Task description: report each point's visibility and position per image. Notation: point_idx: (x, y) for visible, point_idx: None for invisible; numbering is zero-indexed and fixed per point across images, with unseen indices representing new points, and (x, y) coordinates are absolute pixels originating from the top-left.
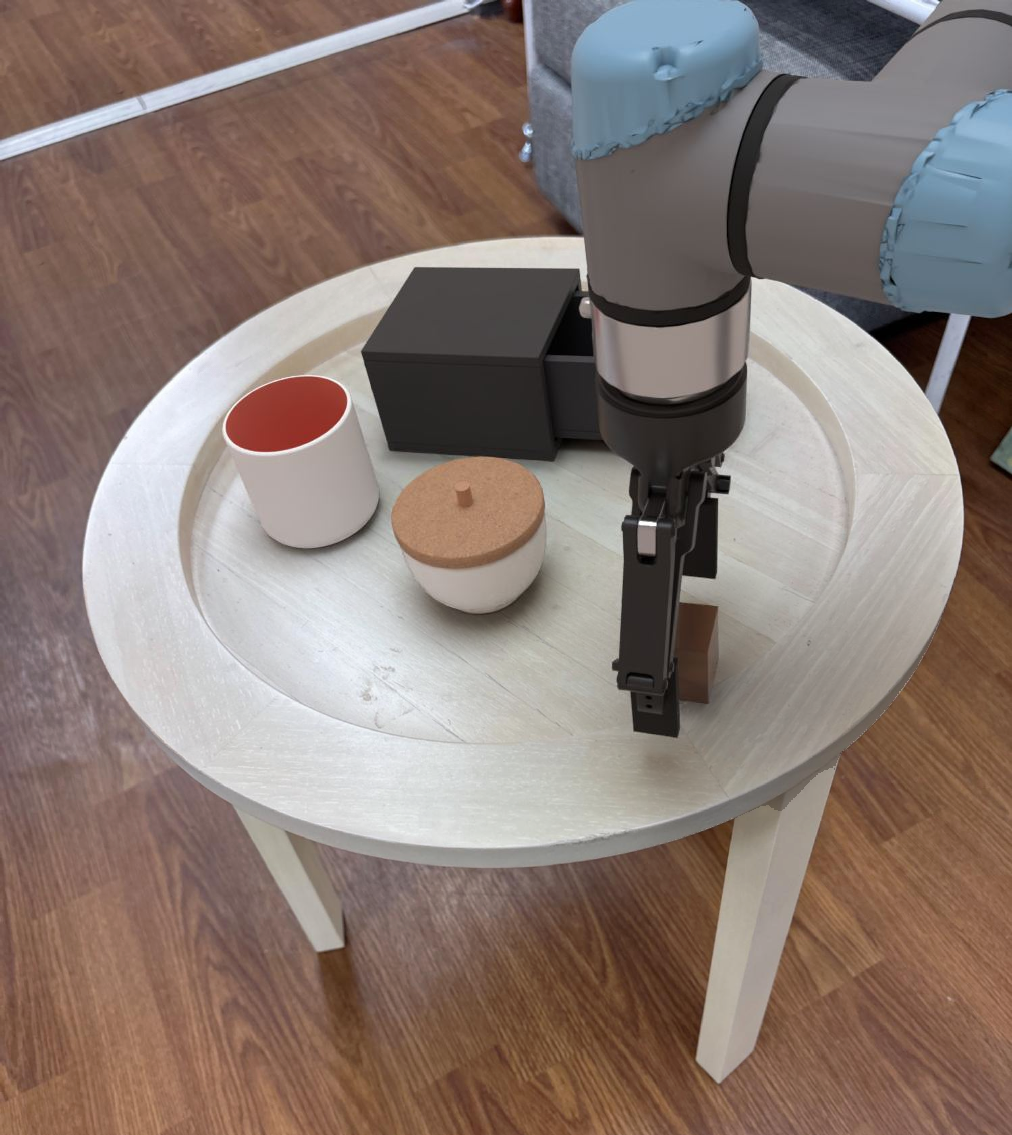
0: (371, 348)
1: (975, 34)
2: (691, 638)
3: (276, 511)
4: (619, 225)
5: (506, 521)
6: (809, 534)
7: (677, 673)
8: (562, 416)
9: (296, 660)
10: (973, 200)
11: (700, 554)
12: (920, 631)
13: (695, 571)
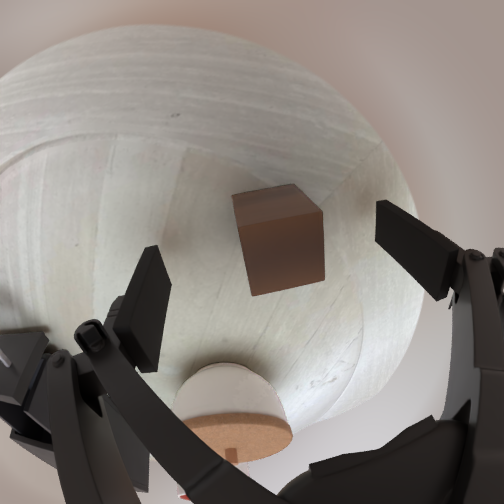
0: (143, 491)
1: None
2: (304, 237)
3: (247, 462)
4: None
5: (240, 434)
6: (40, 183)
7: (439, 240)
8: None
9: (313, 408)
10: None
11: (156, 281)
12: (124, 26)
13: (163, 270)
